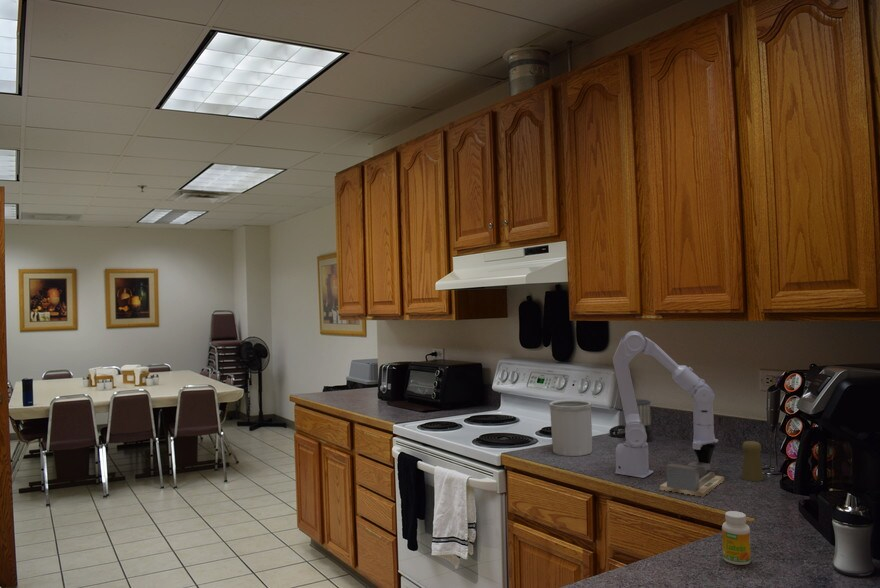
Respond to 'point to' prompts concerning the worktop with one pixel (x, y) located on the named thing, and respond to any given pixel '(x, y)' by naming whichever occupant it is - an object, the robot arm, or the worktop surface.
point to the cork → (752, 461)
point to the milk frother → (644, 418)
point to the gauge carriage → (701, 468)
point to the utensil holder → (571, 427)
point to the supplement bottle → (736, 538)
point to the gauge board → (705, 485)
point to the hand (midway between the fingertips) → (704, 468)
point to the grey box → (682, 477)
